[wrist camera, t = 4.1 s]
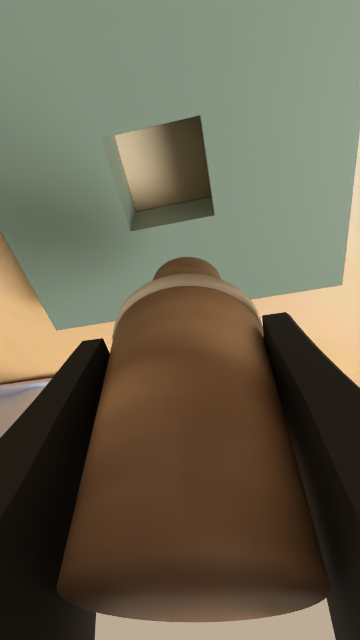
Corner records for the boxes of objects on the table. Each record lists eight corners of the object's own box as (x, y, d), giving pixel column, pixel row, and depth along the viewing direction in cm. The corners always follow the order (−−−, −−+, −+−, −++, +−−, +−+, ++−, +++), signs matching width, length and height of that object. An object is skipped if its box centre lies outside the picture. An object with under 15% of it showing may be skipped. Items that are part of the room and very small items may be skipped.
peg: (145, 340, 14) (110, 626, 7) (108, 245, 11) (-6, 565, 4) (253, 322, 14) (326, 618, 7) (241, 218, 11) (347, 542, 4)
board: (67, 305, 22) (56, 330, 20) (-162, -148, 11) (-240, -193, 9) (326, 261, 20) (342, 284, 18) (372, -358, 9) (428, -478, 7)
